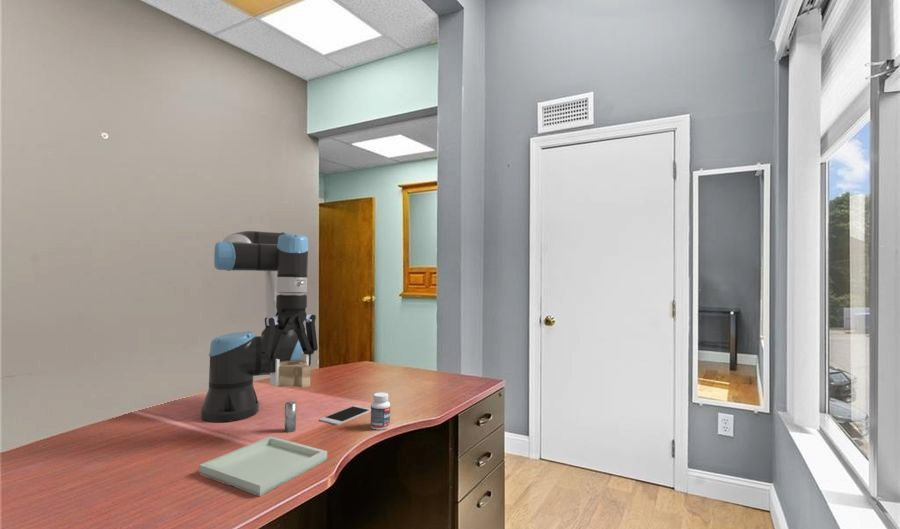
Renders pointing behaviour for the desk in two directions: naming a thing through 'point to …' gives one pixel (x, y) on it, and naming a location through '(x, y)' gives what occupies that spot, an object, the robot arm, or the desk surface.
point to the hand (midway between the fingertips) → (289, 381)
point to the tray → (263, 464)
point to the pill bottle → (380, 412)
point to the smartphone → (345, 415)
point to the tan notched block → (294, 374)
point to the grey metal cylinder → (290, 416)
